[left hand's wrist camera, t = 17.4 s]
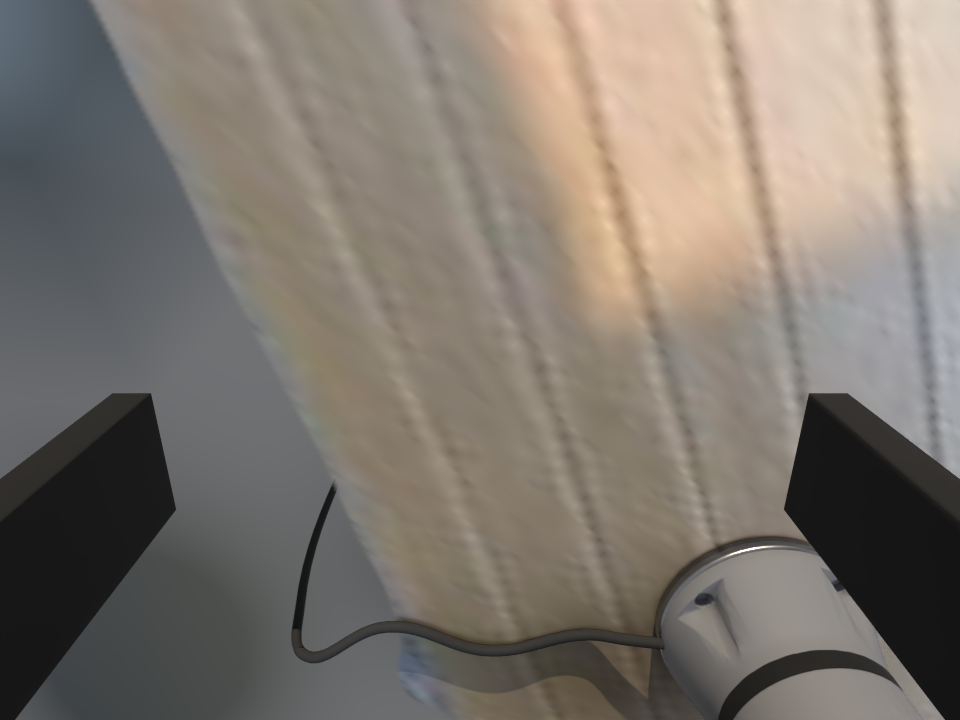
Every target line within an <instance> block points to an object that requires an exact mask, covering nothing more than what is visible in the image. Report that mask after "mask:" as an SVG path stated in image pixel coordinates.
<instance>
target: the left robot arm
mask: <svg viewBox="0 0 960 720" xmlns="http://www.w3.org/2000/svg"><path fill="white" fill-rule="evenodd" d="M336 492H337V488H336V486H335V484H334V481H333V483H332V485H331V488H330V490H329V492H328V495H327V497H326V499H325V502H324V504H323V507H322V509H321V512H320V514H319V517H318V519H317V522H316V525H315V528H314V530H313V533H312V536H311V539H310V542H309V545H308V549H307V552H306V556H305V559H304V563H303V567H302V572H301V576H300V581H299V586H298V592H297V599H296V605H295V612H294V618H293V625H292V632H291V642H292V647H293V650H294V652H295V654H296V656H297V657H298V658H299V659H301V660H303V661H305V662H308V663H320V662H324V661H326V660H328V659H330V658H332V657H334V656H336V655H338V654H339V653H341V652H342V651H344V650H345V649H347V648H349V647H350V646H352V645H354V644H355V643H357V642H359V641H361V640H363V639H365V638H367V637H370V636H373V635H376V634H380V633H391V632H392V633H406V634H411V635H416V636H419V637H423V638H426V639H429V640H431V641H434V642H437V643H439V644H442V645H444V646H447V647H449V648H452V649H455V650H458V651H461V652H465V653H469V654H474V655H480V656H510V655H517V654H522V653H526V652H530V651H534V650H538V649H542V648H545V647H549V646H553V645H557V644H561V643H566V642H573V641H585V640H594V641H603V642H609V643H614V644H620V645H627V646H635V647H643V648H652V649H660V652H661V655H662V657H663V660H664V663H665V665H666V666H667V668H668V670H669V672H670V674H671V675H672V677H673V679H674V680H675V682H676V683H677V684H678V685H679V687H680V688H681V689H682V690H683V692H684V693H685V694H686V696H687V697H688V698H689V699H690V701H691V702H692V703H693V704H694V706H695V707H696V708H697V709H698V711H699V712H700V713H701V714H702V716H703V717H704V718H705V719H706V720H924V719H923V717H922V716H921V715H920V713H919V712H918V711H917V709H916V708H915V707H914V705H913V704H912V702H911V701H910V700H909V698H908V697H907V696H906V694H905V693H904V692H903V690H902V689H901V688H900V686H899V685H898V683H897V682H896V681H895V679H894V678H893V677H892V675H891V674H890V673H889V671H888V670H887V667H886V664H885V660H884V657H883V654H882V651H881V647H880V644H879V641H878V638H877V635H876V631H875V629H876V630H877V632H878V633H879V634H880V636H881V637H882V638H883V639H884V641H885V642H886V643H887V645H888V646H889V647H890V649H891V650H892V651H893V652H894V654H895V655H896V656H897V658H898V659H899V660H900V662H901V663H902V664H903V666H904V667H905V668H906V669H907V671H908V672H909V673H910V675H911V676H912V677H913V679H914V680H915V681H916V683H917V684H918V685H919V686H920V688H921V689H922V690H923V692H924V693H925V694H926V696H927V697H928V698H929V699H930V701H931V702H932V703H933V705H934V706H935V707H936V709H937V710H938V711H939V713H940V714H941V715H942V716H943V718H944V719H945V720H960V479H959V478H958V477H956V476H955V475H954V474H952V473H951V472H950V471H948V470H947V469H946V468H944V467H943V466H942V465H941V464H939V463H938V462H937V461H935V460H934V459H933V458H931V457H930V456H929V455H927V454H926V453H925V452H924V451H922V450H921V449H920V448H918V447H917V446H916V445H914V444H913V443H912V442H910V441H909V440H908V439H906V438H905V437H904V436H903V435H901V434H900V433H899V432H897V431H896V430H895V429H893V428H892V427H891V426H889V425H888V424H887V423H886V422H884V421H883V420H882V419H880V418H879V417H878V416H876V415H875V414H874V413H872V412H871V411H870V410H869V409H867V408H866V407H865V406H863V405H862V404H861V403H859V402H858V401H857V400H855V399H854V398H853V397H851V396H850V395H849V394H848V393H809V396H808V401H807V405H806V410H805V415H804V419H803V424H802V429H801V433H800V438H799V442H798V447H797V452H796V456H795V461H794V465H793V470H792V475H791V479H790V484H789V488H788V493H787V498H786V502H785V507H784V510H785V512H786V513H787V514H788V515H789V517H790V518H791V519H792V521H793V522H794V523H795V525H796V526H797V527H798V528H799V530H800V531H801V532H802V534H803V535H804V536H805V538H806V539H807V540H808V542H809V543H807V542H804V541H800V540H796V539H790V538H782V537H761V538H752V539H746V540H742V541H737V542H734V543H731V544H727V545H725V546H722V547H720V548H717V549H715V550H713V551H711V552H709V553H707V554H705V555H703V556H702V557H700V558H698V559H697V560H695V561H694V562H693V563H691V564H690V565H689V566H687V567H686V568H685V569H684V570H683V571H682V572H681V573H680V574H679V575H678V576H677V577H676V578H675V579H674V580H673V581H672V583H671V584H670V585H669V587H668V588H667V590H666V591H665V593H664V595H663V597H662V599H661V601H660V603H659V606H658V609H657V613H656V619H655V633H656V637H650V636H640V635H632V634H624V633H617V632H612V631H606V630H599V629H577V630H569V631H563V632H558V633H554V634H550V635H546V636H542V637H539V638H535V639H532V640H528V641H524V642H519V643H513V644H506V645H483V644H476V643H471V642H467V641H464V640H461V639H457V638H455V637H452V636H449V635H447V634H444V633H442V632H439V631H437V630H434V629H431V628H429V627H426V626H422V625H419V624H414V623H410V622H401V621H386V622H378V623H375V624H371V625H368V626H366V627H363V628H361V629H359V630H357V631H355V632H353V633H352V634H350V635H348V636H347V637H345V638H343V639H342V640H340V641H339V642H337V643H335V644H334V645H332V646H330V647H328V648H326V649H324V650H322V651H318V652H311V651H308V650H307V649H306V648H305V647H304V646H303V644H302V636H301V635H302V624H303V618H304V611H305V603H306V595H307V588H308V582H309V577H310V572H311V567H312V563H313V559H314V555H315V551H316V547H317V544H318V541H319V538H320V534H321V531H322V528H323V525H324V523H325V520H326V517H327V514H328V512H329V509H330V507H331V504H332V501H333V499H334V496H335V494H336ZM175 510H176V507H175V503H174V498H173V493H172V488H171V484H170V479H169V475H168V470H167V465H166V461H165V456H164V452H163V447H162V442H161V438H160V433H159V429H158V424H157V419H156V415H155V410H154V405H153V401H152V396H151V394H150V393H113V394H111V395H110V396H109V397H107V398H106V399H105V400H103V401H102V402H101V403H99V404H98V405H97V406H95V407H94V408H93V409H91V410H90V411H89V412H88V413H86V414H85V415H84V416H82V417H81V418H80V419H79V420H77V421H76V422H74V423H73V424H72V425H71V426H69V427H68V428H67V429H65V430H64V431H63V432H61V433H60V434H59V435H57V436H56V437H55V438H54V439H52V440H51V441H50V442H48V443H47V444H46V445H44V446H43V447H42V448H40V449H39V450H38V451H36V452H35V453H34V454H33V455H31V456H30V457H29V458H27V459H26V460H25V461H23V462H22V463H21V464H20V465H18V466H17V467H16V468H14V469H13V470H12V471H10V472H9V473H8V474H6V475H5V476H4V477H2V478H1V479H0V720H15V719H16V718H17V716H18V715H19V714H20V712H21V711H22V710H23V709H24V707H25V706H26V705H27V703H28V702H29V701H30V699H31V698H32V697H33V696H34V694H35V693H36V692H37V690H38V689H39V688H40V686H41V685H42V684H43V683H44V681H45V680H46V679H47V677H48V676H49V675H50V673H51V672H52V671H53V669H54V668H55V667H56V666H57V664H58V663H59V662H60V660H61V659H62V658H63V656H64V655H65V654H66V652H67V651H68V650H69V649H70V647H71V646H72V645H73V643H74V642H75V641H76V639H77V638H78V637H79V635H80V634H81V633H82V632H83V630H84V629H85V628H86V626H87V625H88V624H89V622H90V621H91V620H92V619H93V617H94V616H95V615H96V613H97V612H98V611H99V609H100V608H101V607H102V605H103V604H104V603H105V602H106V600H107V599H108V598H109V596H110V595H111V594H112V592H113V591H114V590H115V588H116V587H117V586H118V585H119V583H120V582H121V581H122V579H123V578H124V577H125V575H126V574H127V573H128V572H129V570H130V569H131V568H132V566H133V565H134V564H135V562H136V561H137V560H138V558H139V557H140V556H141V555H142V553H143V552H144V551H145V549H146V548H147V547H148V545H149V544H150V543H151V542H152V540H153V539H154V538H155V536H156V535H157V534H158V532H159V531H160V530H161V528H162V527H163V526H164V525H165V523H166V522H167V521H168V519H169V518H170V517H171V515H172V514H173V513H174V512H175Z"/></svg>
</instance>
